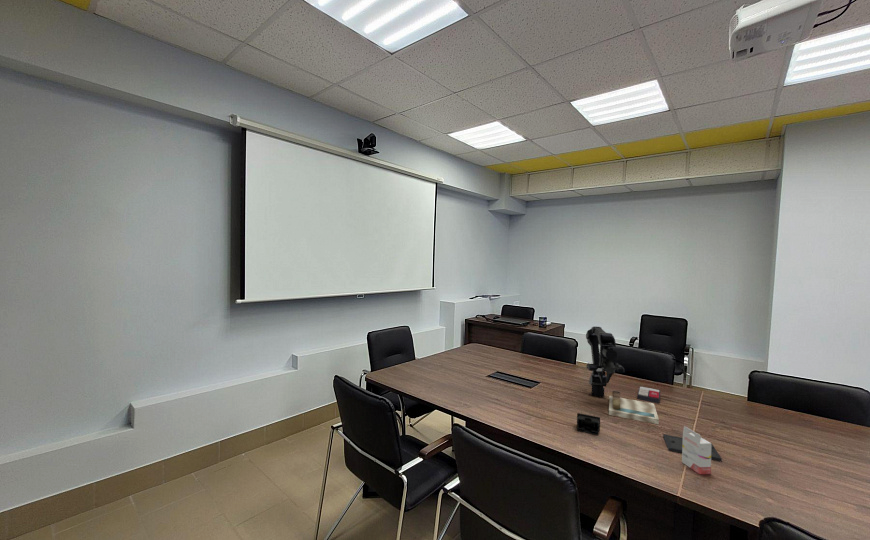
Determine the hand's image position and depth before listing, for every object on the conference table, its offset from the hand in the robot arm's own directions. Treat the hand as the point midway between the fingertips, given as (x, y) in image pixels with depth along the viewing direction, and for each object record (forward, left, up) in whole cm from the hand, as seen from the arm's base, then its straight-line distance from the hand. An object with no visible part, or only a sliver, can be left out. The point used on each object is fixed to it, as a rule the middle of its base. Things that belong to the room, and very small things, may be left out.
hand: (604, 382), depth 193 cm
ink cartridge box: (+33, -52, -12) cm, 63 cm away
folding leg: (+6, -3, -9) cm, 12 cm away
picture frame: (+34, -35, -13) cm, 50 cm away
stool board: (+13, -3, -12) cm, 18 cm away
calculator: (+23, +25, -13) cm, 37 cm away
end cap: (-6, -39, -12) cm, 41 cm away
